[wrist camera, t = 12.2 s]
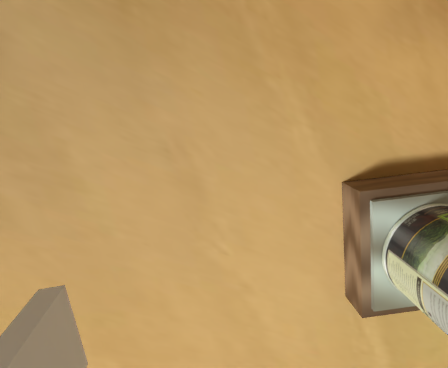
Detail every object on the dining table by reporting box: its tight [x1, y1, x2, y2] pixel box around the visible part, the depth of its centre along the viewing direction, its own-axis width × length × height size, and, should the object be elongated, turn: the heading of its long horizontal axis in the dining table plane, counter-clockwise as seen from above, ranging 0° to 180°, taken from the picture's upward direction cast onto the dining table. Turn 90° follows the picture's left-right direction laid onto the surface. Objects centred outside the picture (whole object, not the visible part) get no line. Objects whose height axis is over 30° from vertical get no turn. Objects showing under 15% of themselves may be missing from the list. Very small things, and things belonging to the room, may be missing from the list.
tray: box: [342, 170, 448, 318], centre depth 38 cm, size 14×14×5 cm
